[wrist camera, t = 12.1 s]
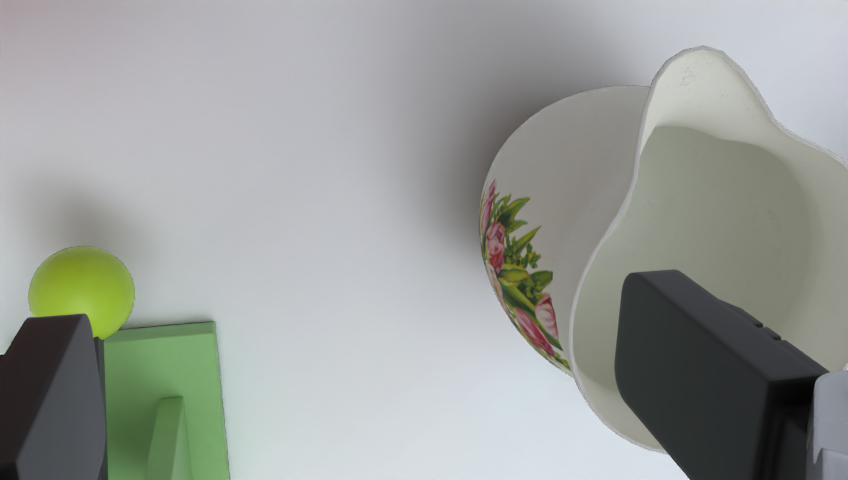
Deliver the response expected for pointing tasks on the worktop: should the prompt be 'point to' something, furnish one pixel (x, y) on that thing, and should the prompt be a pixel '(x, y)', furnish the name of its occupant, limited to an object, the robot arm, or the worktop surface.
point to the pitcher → (664, 219)
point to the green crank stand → (165, 404)
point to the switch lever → (85, 298)
